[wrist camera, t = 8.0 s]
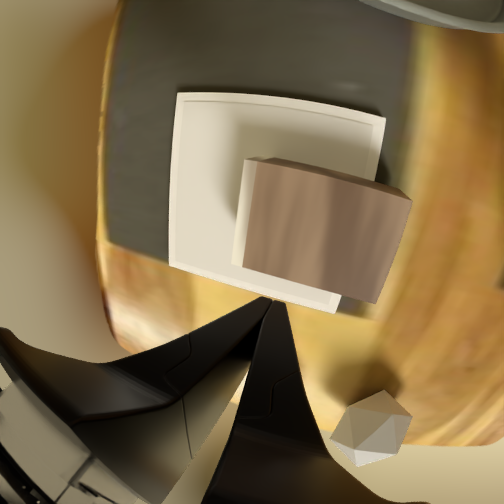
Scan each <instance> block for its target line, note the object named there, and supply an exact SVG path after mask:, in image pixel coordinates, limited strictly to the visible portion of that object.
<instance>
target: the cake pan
mask: <svg viewBox="0 0 504 504" xmlns="http://www.w3.org/2000/svg"><path fill="white" fill-rule="evenodd" d="M358 1H361V2H363V3H365V4H367V5H370V6H372V7H375V8H377V9H380V10H383V11H385V12H388V13H391V14H394V15H397V16H400V17H403V18H406V19H409V20H412V21H415V22H419V23H423V24H427V25H432V26H437V27H442V28H450V29H468V30H474V31H479V32H486V33H504V0H358Z"/></svg>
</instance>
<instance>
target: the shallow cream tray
mask: <svg viewBox="0 0 504 504" xmlns="http://www.w3.org/2000/svg"><path fill="white" fill-rule="evenodd" d="M385 122H386V118H382V117H379V116H375V115H372V114H368V113H364V112H360V111H356V110H351V109H347V108H342V107H338V106H333V105H328V104H322V103H317V102H311V101H305V100H298V99H291V98H284V97H275V96H265V95H254V94H240V93H215V92H186V93H178V94H177V102H176V111H175V121H174V131H173V143H172V157H171V173H170V196H169V266H172V267H175V268H178V269H181V270H185V271H188V272H191V273H194V274H197V275H200V276H203V277H207V278H210V279H213V280H216V281H220V282H223V283H226V284H229V285H233V286H236V287H240V288H243V289H246V290H250V291H253V292H257V293H260V294H263V295H267V296H270V297H274V298H277V299H281V300H285V301H288V302H292V303H295V304H299V305H303V306H307V307H310V308H314V309H318V310H322V311H325V312H329V313H333V314H335V312H336V309H337V306H338V304H339V301H340V298H341V295H339V294H336V293H332V292H328V291H325V290H321V289H317V288H314V287H310V286H307V285H303V284H299V283H296V282H292V281H289V280H285V279H282V278H278V277H275V276H271V275H268V274H264V273H261V272H257V271H254V270H250V269H247V268H243V267H240V266H236V265H233V264H231V260H232V252H233V244H234V235H235V227H236V219H237V211H238V204H239V196H240V188H241V181H242V173H243V166H244V159H248V158H253V157H257V156H262V155H264V156H270V157H275V158H280V159H285V160H290V161H295V162H300V163H304V164H309V165H313V166H318V167H322V168H326V169H330V170H334V171H338V172H342V173H346V174H350V175H354V176H357V177H361V178H364V179H368V180H371V181H374V180H375V175H376V171H377V166H378V161H379V156H380V151H381V145H382V140H383V134H384V128H385Z"/></svg>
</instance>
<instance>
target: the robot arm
mask: <svg viewBox="0 0 504 504" xmlns="http://www.w3.org/2000/svg"><path fill="white" fill-rule="evenodd" d="M0 363H1V365H2V366H3V368H4V369H5V371H6V372H7V374H8V375H9V377H10V378H11V380H12V382H11V383H10V384H9V385H8V386H7V387H6V388H5V389H4V390H3V391H2V389H1V388H0V504H134V503H135V502H136V500H137V499H138V498H139V499H141V500H143V501H144V502H146V503H148V504H161V503H162V502H163V501H164V499H165V498H166V497H167V495H168V494H169V492H170V491H171V490H172V488H173V487H174V485H175V484H176V483H177V481H178V480H179V478H180V477H181V476H182V474H183V473H184V471H185V470H186V468H187V466H188V465H189V464H190V462H191V460H192V459H193V458H194V456H195V455H196V453H197V452H198V450H199V449H200V447H201V446H202V444H203V443H204V441H205V440H206V438H207V437H208V435H209V434H210V432H211V430H212V429H213V427H214V426H215V424H216V423H217V421H218V419H219V417H220V416H221V415H222V413H223V411H224V410H225V408H226V406H227V405H228V403H229V401H230V400H231V398H232V397H233V395H234V393H235V392H236V390H237V388H238V386H239V385H240V383H241V381H242V380H243V378H244V376H245V375H246V373H247V371H248V369H249V371H248V374H247V378H246V381H245V385H244V388H243V392H242V395H241V399H240V402H239V406H238V409H237V413H236V416H235V420H234V423H233V426H232V429H231V432H230V435H229V438H228V441H227V443H226V445H225V448H224V450H223V453H222V455H221V458H220V460H219V462H218V465H217V467H216V469H215V472H214V474H213V477H212V479H211V481H210V484H209V486H208V488H207V490H206V492H205V495H204V497H203V500H202V502H201V504H430V503H428V502H406V503H400V502H393V501H388V500H386V499H384V498H381V497H379V496H378V495H376V494H375V493H373V492H372V491H371V490H370V489H368V488H367V487H366V486H364V485H363V484H362V483H361V482H360V481H358V480H357V479H356V478H355V477H353V476H352V475H351V474H350V473H349V472H347V471H346V470H345V469H344V468H343V467H342V466H340V465H339V464H338V463H337V462H336V461H335V460H334V459H333V458H332V456H331V455H330V453H329V452H328V450H327V448H326V446H325V444H324V441H323V439H322V436H321V433H320V431H319V428H318V426H317V423H316V420H315V418H314V415H313V413H312V410H311V407H310V404H309V401H308V399H307V396H306V392H305V388H304V384H303V380H302V375H301V372H300V367H299V362H298V357H297V353H296V348H295V343H294V339H293V334H292V330H291V325H290V321H289V316H288V312H287V307H286V304H285V303H284V302H280V301H277V300H274V301H273V300H272V299H270V298H266V297H263V296H261V297H259V298H257V299H255V300H253V301H251V302H249V303H247V304H245V305H244V306H242V307H240V308H238V309H236V310H234V311H232V312H230V313H228V314H226V315H224V316H222V317H220V318H218V319H216V320H214V321H212V322H210V323H208V324H206V325H204V326H202V327H200V328H198V329H196V330H194V331H192V332H190V333H189V334H186V335H183V336H181V337H179V338H177V339H175V340H173V341H170V342H168V343H166V344H163V345H161V346H158V347H155V348H153V349H150V350H147V351H144V352H141V353H138V354H135V355H131V356H128V357H125V358H122V359H119V360H115V361H112V362H107V363H91V362H86V361H82V360H77V359H73V358H69V357H65V356H62V355H58V354H54V353H51V352H47V351H44V350H41V349H37V348H34V347H32V346H30V345H28V344H25V343H24V342H22V341H20V340H19V339H18V338H17V337H16V336H15V335H14V334H13V333H12V332H11V331H10V330H9V329H7V328H3V327H0Z"/></svg>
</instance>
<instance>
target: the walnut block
mask: <svg viewBox="0 0 504 504" xmlns="http://www.w3.org/2000/svg"><path fill="white" fill-rule="evenodd" d="M412 202H413V201H412V200H411V199H410V198H409V197H408V196H406V195H405V194H404V193H403V192H402V191H401V190H400V189H397V188H394V187H391V186H388V185H385V184H381V183H378V182H375V181H371V180H368V179H364V178H361V177H357V176H354V175H350V174H346V173H342V172H338V171H334V170H330V169H326V168H322V167H318V166H313V165H309V164H304V163H300V162H295V161H290V160H285V159H280V158H275V157H270V156H264V155H262V156H257V157H253V158H248V159H244V166H243V173H242V181H241V188H240V196H239V204H238V211H237V219H236V227H235V235H234V244H233V252H232V260H231V264H233V265H236V266H240V267H243V268H247V269H250V270H254V271H257V272H261V273H264V274H268V275H271V276H275V277H278V278H282V279H285V280H289V281H292V282H296V283H299V284H303V285H307V286H310V287H314V288H317V289H321V290H325V291H328V292H332V293H336V294H339V295H343V296H347V297H350V298H354V299H358V300H362V301H365V302H369V303H373V304H376V302H377V300H378V297H379V295H380V293H381V290H382V288H383V285H384V283H385V281H386V278H387V276H388V273H389V270H390V268H391V265H392V263H393V260H394V257H395V255H396V252H397V249H398V246H399V243H400V240H401V237H402V234H403V231H404V228H405V225H406V222H407V219H408V215H409V212H410V209H411V205H412Z"/></svg>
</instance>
